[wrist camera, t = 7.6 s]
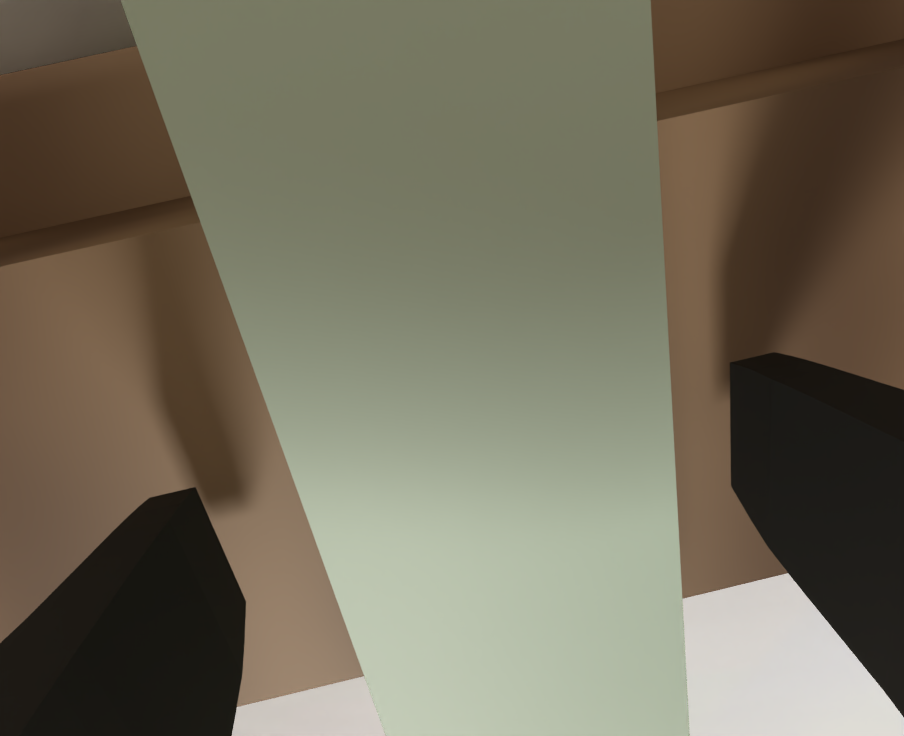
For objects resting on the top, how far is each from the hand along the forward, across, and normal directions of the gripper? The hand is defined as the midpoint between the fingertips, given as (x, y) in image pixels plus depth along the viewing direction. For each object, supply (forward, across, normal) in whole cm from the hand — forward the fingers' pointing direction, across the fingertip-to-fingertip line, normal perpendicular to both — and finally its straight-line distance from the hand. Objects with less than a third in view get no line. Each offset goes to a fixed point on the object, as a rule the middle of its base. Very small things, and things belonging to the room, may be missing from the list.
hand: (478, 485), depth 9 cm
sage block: (+3, 0, 0) cm, 3 cm away
